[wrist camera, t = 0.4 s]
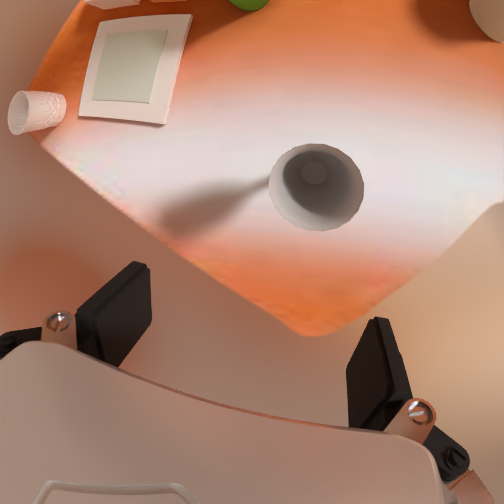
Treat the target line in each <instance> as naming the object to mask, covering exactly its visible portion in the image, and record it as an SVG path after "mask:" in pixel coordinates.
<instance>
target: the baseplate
mask: <svg viewBox="0 0 504 504" xmlns="http://www.w3.org/2000/svg"><path fill="white" fill-rule="evenodd" d="M192 20H193V15H192V14H167V15H150V16H138V17H129V18H121V19H114V20H108V21H102V22H100V23H99V26H98V30H97V33H96V36H95V40H94V43H93V47H92V51H91V54H90V58H89V63H88V67H87V71H86V76H85V81H84V85H83V91H82V96H81V102H80V108H79V115H78V116H91V117H105V118H116V119H126V120H135V121H143V122H151V123H159V124H166V123H167V118H168V113H169V108H170V104H171V99H172V94H173V90H174V86H175V81H176V77H177V73H178V69H179V65H180V61H181V57H182V54H183V50H184V46H185V43H186V39H187V36H188V33H189V29H190V26H191V23H192Z"/></svg>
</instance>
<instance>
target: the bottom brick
mask: <svg viewBox="0 0 504 504" xmlns="http://www.w3.org/2000/svg"><path fill="white" fill-rule="evenodd" d="M140 1H141V0H85V1H84V2H85V3H87V4H90V5H93V6H95V7H98V8H100V9H103V10H107V9H112V8H118V7H124V6H131V5H139V4H140Z"/></svg>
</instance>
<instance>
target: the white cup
mask: <svg viewBox="0 0 504 504" xmlns="http://www.w3.org/2000/svg"><path fill="white" fill-rule="evenodd" d="M66 108H67V105H66V99H65V97H64V95H62V94H60V93H52V92H44V91H19V92H17V93H16V94H15V95H14V97H13V98H12V100H11V103H10V105H9V110H8V126H9V129H10V131H11V133H12V134H14V135H19V134H24V133H28V132H33V131H37V130H41V129H46V128H48V127H53V126H57V125H59V124H60V123H61V122H62V120H63V118H64V116H65V113H66Z"/></svg>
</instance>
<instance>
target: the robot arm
mask: <svg viewBox="0 0 504 504" xmlns="http://www.w3.org/2000/svg"><path fill="white" fill-rule="evenodd" d="M151 321H152V309H151V287H150V269H149V268H147V266H146V264H143V263H140V262H136V261H133V262H131V263H130V264H129V265H128V266H127V267H125V268H124V269H123V270H122V271H121V272H119V273H118V274H117V275H116V276H115V277H113V278H112V279H111V280H110V281H109V282H108V283H106V284H105V285H104V286H103V287H102V288H101V289H100V290H98V291H97V292H96V293H95V294H94V295H93V296H92V297H90V298H89V299H88V300H87V301H86V302H85V303H84V304H83V305H81V306H80V307H79V308H78V309H77V313H76V314H75V315H73V314H72V313H70V312H68V311H55V312H53V313H50V314H49V315H48V316H46V318H45V319H44V321H43V324H42V327H37V328H30V329H24V330H17V331H10V332H6V333H4V334H3V335H1V336H0V504H494V499H493V497H492V495H491V494H490V492H489V491H488V490H487V488H486V487H485V485H484V484H483V482H482V481H481V480H480V478H479V477H478V475H477V474H476V473H475V471H474V470H473V469H472V470H471V471H470V470H469V469H468V467H469V464H470V463H469V462H470V459H469V455H468V453H467V451H466V450H465V449H464V448H463V447H462V446H460V445H459V444H458V443H457V442H455V441H454V440H453V439H451V438H450V437H449V436H448V435H446V434H445V433H444V432H443V431H441V430H440V429H439V428H438V427H436V426H435V425H434V424H435V421H436V413H435V410H434V408H433V407H432V405H430V404H429V403H428V402H427V401H425V400H423V399H419V398H413V396H412V392H411V388H410V385H409V381H408V377H407V373H406V370H405V366H404V363H403V359H402V356H401V354H400V352H399V350H398V347H397V343H396V340H395V337H394V334H393V331H392V328H391V325H390V322H389V319H386V318H381V317H374V319H370V320H369V321H368V324H367V326H366V328H365V330H364V332H363V335H362V337H361V339H360V341H359V343H358V345H357V347H356V349H355V351H354V353H353V355H352V357H351V359H350V361H349V363H348V365H347V368H346V380H347V397H348V418H349V427H342V426H334V425H327V424H320V423H312V422H306V421H300V420H294V419H288V418H283V417H277V416H273V415H268V414H263V413H258V412H254V411H249V410H245V409H241V408H237V407H233V406H229V405H225V404H222V403H218V402H214V401H211V400H207V399H204V398H201V397H197V396H194V395H191V394H187V393H184V392H182V391H178V390H175V389H173V388H170V387H167V386H164V385H161V384H158V383H155V382H153V381H150V380H147V379H145V378H142V377H140V376H137V375H135V374H132V373H130V372H127V371H125V370H122V369H120V368H118V367H119V365H120V364H121V363H122V361H123V360H124V359H125V357H126V356H127V355H128V353H129V352H130V351H131V349H132V348H133V347H134V345H135V344H136V343H137V341H138V340H139V339H140V337H141V336H142V335H143V333H144V332H145V331H146V329H147V328H148V327H149V326H150V324H151Z"/></svg>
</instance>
